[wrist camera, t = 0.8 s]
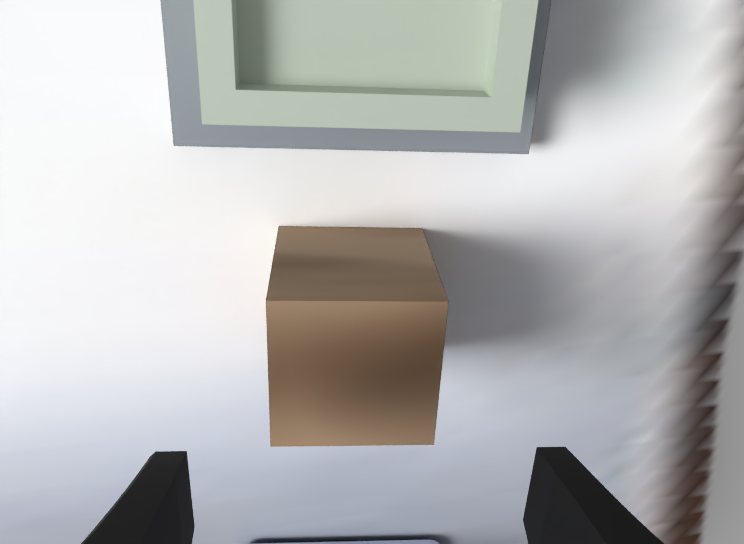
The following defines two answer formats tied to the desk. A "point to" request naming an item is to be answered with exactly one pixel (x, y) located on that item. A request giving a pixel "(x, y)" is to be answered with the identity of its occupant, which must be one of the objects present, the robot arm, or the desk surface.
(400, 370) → the walnut block
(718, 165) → the desk surface
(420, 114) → the socket base
